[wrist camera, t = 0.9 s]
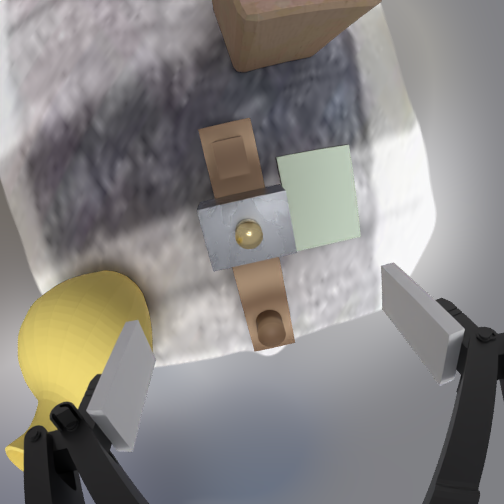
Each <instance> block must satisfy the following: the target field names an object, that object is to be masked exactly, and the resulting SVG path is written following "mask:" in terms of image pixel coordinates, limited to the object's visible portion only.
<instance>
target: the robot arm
mask: <svg viewBox="0 0 504 504" xmlns="http://www.w3.org/2000/svg"><path fill="white" fill-rule="evenodd" d="M381 274H382V310H383V311H384V312H385V313H386V315H387V316H388V317H389V318H390V320H391V321H392V322H393V324H394V325H395V326H396V328H397V329H398V330H399V332H400V333H401V334H402V335H403V337H404V338H405V339H406V341H407V342H408V343H409V345H410V346H411V347H412V349H413V350H414V351H415V353H416V354H417V355H418V357H419V358H420V359H421V361H422V362H423V363H424V365H425V366H426V367H427V369H428V370H429V372H430V373H431V374H432V376H433V377H434V379H435V380H436V381H437V383H438V384H439V386H441V385H443V384H445V383H448V382H450V381H452V380H454V378H455V373H456V369H457V371H458V372H459V373H460V374H461V377H460V381H459V385H458V388H457V396H456V400H455V404H454V409H453V413H452V417H451V421H450V424H449V428H448V432H447V435H446V439H445V442H444V445H443V448H442V452H441V455H440V458H439V461H438V464H437V467H436V470H435V472H434V475H433V478H432V481H431V484H430V486H429V488H428V491H427V494H426V497H425V499H424V501H423V503H422V504H478V502H479V498H480V491H479V490H478V487H479V483H480V479H481V475H482V471H483V467H484V463H485V458H486V453H487V448H488V443H489V438H490V432H491V426H492V419H493V412H494V404H495V395H496V384H497V380H500V385H501V390H502V395H503V400H504V333H500V334H497V333H496V332H495V331H494V330H492V329H491V328H487V327H477V326H476V325H475V324H474V323H473V322H472V321H471V320H470V319H469V318H468V317H467V316H466V315H465V314H464V313H462V311H460V310H459V309H457V307H456V306H455V305H454V304H453V303H452V302H450V301H448V300H446V299H443V298H440V299H437V300H434V299H433V298H432V297H431V296H430V295H429V294H428V293H427V292H426V291H425V290H424V289H423V288H421V287H420V286H419V285H418V284H417V283H416V282H415V281H414V280H413V279H412V278H410V277H409V276H408V275H407V274H406V273H405V272H404V271H403V270H402V269H400V268H399V267H398V266H397V265H396V264H395V263H390V264H386V265H383V266H381ZM155 361H156V358H155V356H154V354H153V352H152V350H151V348H150V345H149V343H148V341H147V339H146V337H145V334H144V332H143V330H142V327H141V325H140V323H139V321H138V320H134V321H129V322H126V323H125V325H124V327H123V329H122V331H121V333H120V335H119V337H118V339H117V342H116V344H115V346H114V348H113V350H112V352H111V355H110V357H109V359H108V361H107V363H106V366H105V368H104V370H103V372H102V374H97V375H96V376H95V377H94V378H93V379H92V380H91V381H90V383H89V385H88V387H87V390H86V392H85V394H84V396H83V399H82V401H81V403H80V405H79V408H78V409H77V408H76V407H75V405H74V404H73V403H72V402H62V403H60V404H58V405H56V406H55V407H54V408H53V409H52V411H51V413H50V415H49V416H50V420H51V422H52V423H53V424H54V425H55V427H56V428H57V429H58V430H55V431H51V432H48V431H47V430H46V429H45V428H44V427H43V426H41V425H37V426H34V427H32V428H30V429H29V430H28V431H27V433H26V434H25V437H24V490H25V491H24V493H25V504H85V501H84V497H83V492H82V488H81V483H80V477H79V474H80V476H81V478H82V480H83V482H84V484H85V485H86V487H87V489H88V491H89V493H90V495H91V496H92V498H93V500H94V502H95V503H96V504H149V503H148V502H147V500H146V499H145V498H144V497H143V495H142V494H141V493H140V491H139V490H138V489H137V488H136V486H135V485H134V484H133V482H132V481H131V479H130V478H129V477H128V475H127V474H126V473H125V471H124V470H123V468H122V467H121V465H120V464H119V463H118V461H117V460H116V458H115V457H114V455H113V454H112V453H111V452H110V448H111V444H112V445H113V446H114V447H115V448H116V450H117V451H121V452H124V451H125V452H129V451H133V449H134V445H135V441H136V436H137V432H138V428H139V424H140V419H141V415H142V411H143V407H144V403H145V399H146V395H147V391H148V387H149V384H150V380H151V376H152V372H153V369H154V365H155Z"/></svg>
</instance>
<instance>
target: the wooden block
mask: <svg viewBox="0 0 504 504" xmlns="http://www.w3.org/2000/svg"><path fill="white" fill-rule="evenodd" d="M381 1H382V0H212V2H213V10H214V13H215V16H216V18H217V21H218V24H219V27H220V30H221V33H222V35H223V38H224V41H225V44H226V47H227V50H228V53H229V56H230V59H231V62H232V64H233V67H234V68H235V69H236V70H237V71H238V72H247V71H251V70H255V69H258V68H262V67H266V66H270V65H275V64H279V63H283V62H288V61H292V60H297V59H302V58H307V57H311V56H313V55H314V54H316V53H317V52H318V51H319V50H320V49H322V48H323V47H324V46H325V45H326V44H328V43H329V42H330V41H331V40H332V39H334V38H335V37H336V36H337V35H339V34H340V33H341V32H342V31H344V30H345V29H346V28H347V27H349V26H350V25H351V24H353V23H354V22H355V21H356V20H358V19H359V18H360V17H362V16H363V15H364V14H366V13H367V12H368V11H370V10H371V9H372V8H374V7H375V6H376V5H378V4H379V3H380V2H381Z"/></svg>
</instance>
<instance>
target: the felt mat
mask: <svg viewBox="0 0 504 504" xmlns="http://www.w3.org/2000/svg"><path fill="white" fill-rule="evenodd" d="M276 160H277V165H278V170H279V175H280V180H281V185H282V187H283V188H284V189H285V190H286V194H287V199H288V205H289V210H290V216H291V221H292V227H293V232H294V238H295V243H296V249H297V251H301V250H305V249H309V248H314V247H318V246H323V245H327V244H331V243H336V242H340V241H344V240H349V239H353V238H358V237H361V236H360V226H359V216H358V207H357V199H356V191H355V183H354V176H353V169H352V162H351V156H350V150H349V145H342V146H335V147H329V148H323V149H317V150H311V151H306V152H300V153H295V154H290V155H284V156H279V157H276Z"/></svg>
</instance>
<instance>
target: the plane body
mask: <svg viewBox="0 0 504 504" xmlns="http://www.w3.org/2000/svg"><path fill="white" fill-rule="evenodd" d="M198 130H199V135H200V139H201V143H202V147H203V152H204V156H205V160H206V164H207V168H208V172H209V177H210V181H211V185H212V189H213V193H214V197H215V199H216V198H220V197H224V196H228V195H233V194H237V193H242V192H246V191H251V190H255V189H260V188H264V187H265V185H264V181H263V176H262V171H261V166H260V162H259V157H258V152H257V148H256V143H255V138H254V134H253V129H252V125H251V120H250V118H246V119H241V120H237V121H232V122H228V123H223V124H219V125H215V126H210V127H206V128H202V129H198ZM232 268H233V272H234V276H235V280H236V284H237V287H238V291H239V295H240V299H241V303H242V306H243V310H244V314H245V318H246V321H247V325H248V329H249V332H250V336H251V340H252V343H253V347H254V351H260V350H265V349H269V348H274V347H278V346H283V345H287V344H292V343H295V340H294V334H293V329H292V323H291V318H290V312H289V307H288V302H287V296H286V291H285V286H284V280H283V275H282V270H281V265H280V260H279V257H276V258H272V259H267V260H263V261H258V262H254V263H249V264H245V265H240V266H236V267H232Z"/></svg>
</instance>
